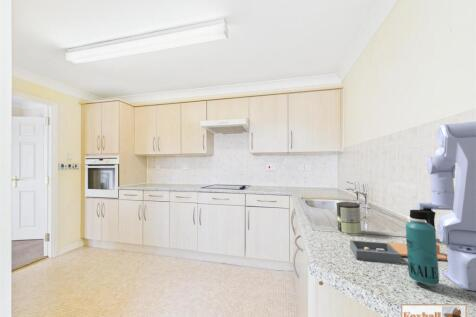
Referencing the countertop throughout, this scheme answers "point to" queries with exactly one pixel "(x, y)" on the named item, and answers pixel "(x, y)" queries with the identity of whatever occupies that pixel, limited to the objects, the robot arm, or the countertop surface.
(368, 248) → the parts tub
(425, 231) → the beverage bottle
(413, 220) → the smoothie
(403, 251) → the tub lid
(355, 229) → the coffee can
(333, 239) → the countertop surface
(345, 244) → the countertop surface
